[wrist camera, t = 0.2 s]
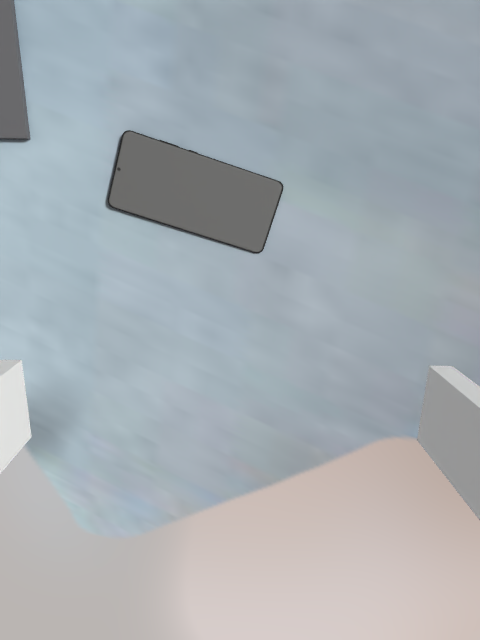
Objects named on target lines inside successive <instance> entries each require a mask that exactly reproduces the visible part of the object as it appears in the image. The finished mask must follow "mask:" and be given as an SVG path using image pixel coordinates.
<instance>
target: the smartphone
mask: <svg viewBox="0 0 480 640" xmlns="http://www.w3.org/2000/svg"><path fill="white" fill-rule="evenodd" d="M282 191H283V185H282V183H281V182H280V181H277V180H274V179H271V178H268V177H265V176H262V175H259V174H256V173H253V172H250V171H247V170H245V169H242V168H239V167H236V166H233V165H230V164H227V163H224V162H221V161H218V160H215V159H212V158H209V157H206V156H204V155H201V154H198V153H197V152H194V151H191V150H186V149H183V148H180V147H178V146H176V145H173V144H170V143H167V142H164V141H162V140H157V139H154V138H151V137H148V136H145V135H142V134H139V133H136V132H133V131H130V130H128V131H125V132H124V133H123V135H122V140H121V144H120V149H119V153H118V157H117V162H116V166H115V171H114V175H113V180H112V184H111V189H110V193H109V198H108V203H109V205H110V206H111V207H113V208H116V209H119V210H122V211H125V212H128V213H131V214H134V215H138V216H141V217H144V218H147V219H150V220H153V221H157V222H160V223H163V224H166V225H169V226H172V227H175V228H179V229H182V230H185V231H188V232H191V233H194V234H198V235H201V236H204V237H207V238H210V239H213V240H216V241H220V242H223V243H226V244H229V245H232V246H235V247H239V248H242V249H245V250H248V251H251V252H254V253H260V252H262V251H263V249H264V246H265V243H266V240H267V237H268V234H269V231H270V228H271V225H272V222H273V219H274V216H275V213H276V210H277V206H278V203H279V200H280V197H281V194H282Z"/></svg>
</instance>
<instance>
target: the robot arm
mask: <svg viewBox="0 0 480 640" xmlns="http://www.w3.org/2000/svg"><path fill="white" fill-rule="evenodd" d="M31 437H32V436H31V428H30V421H29V413H28V405H27V398H26V390H25V382H24V374H23V367H22V360H0V474H1V473H2V471H3V470H4V469H5V468H6V467H7V466H8V464H9V463H10V462H11V461H12V459H13V458H14V457H15V456H16V455H17V454H18V452H19V451H20V450H21V449H22V448H23V446H24V445H25V444H26V443H27V442H28V440H29V439H30V438H31ZM417 441H418V442H419V443H420V444H421V446H422V447H423V448H424V450H425V451H426V452H427V453H428V455H429V456H430V457H431V458H432V460H433V461H434V462H435V463H436V465H437V466H438V468H439V469H440V470H441V471H442V473H443V474H444V475H445V476H446V478H447V479H448V480H449V482H450V483H451V484H452V485H453V487H454V488H455V489H456V491H457V492H458V493H459V494H460V496H461V497H462V498H463V500H464V501H465V502H466V503H467V505H468V506H469V507H470V509H471V510H472V511H473V512H474V513H475V515H476V516H477V517H478V519H479V520H480V387H479V386H478V385H477V384H475V383H474V382H473V381H471V380H470V379H469V378H467V377H466V376H465V375H463V374H462V373H461V372H459V371H458V370H457V369H455V368H454V367H453V366H429V370H428V376H427V382H426V388H425V395H424V401H423V407H422V413H421V419H420V425H419V432H418V438H417Z"/></svg>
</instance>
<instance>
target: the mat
mask: <svg viewBox="0 0 480 640" xmlns="http://www.w3.org/2000/svg"><path fill="white" fill-rule="evenodd" d="M0 139H30V132H29V124H28V116H27V107H26V99H25V90H24V82H23V74H22V65H21V57H20V48H19V40H18V32H17V23H16V15H15V6H14V0H0Z"/></svg>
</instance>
